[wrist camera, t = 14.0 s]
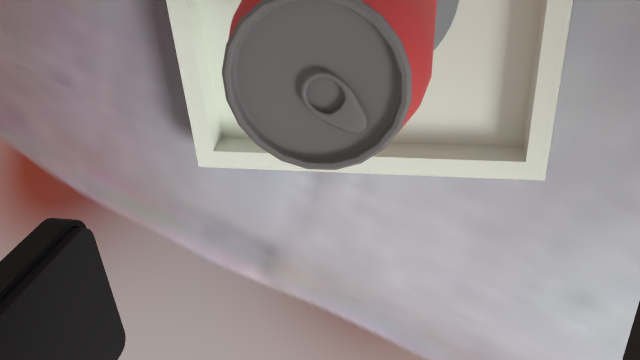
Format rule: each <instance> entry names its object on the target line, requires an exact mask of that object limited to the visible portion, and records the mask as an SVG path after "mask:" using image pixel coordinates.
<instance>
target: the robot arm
mask: <svg viewBox="0 0 640 360" xmlns="http://www.w3.org/2000/svg"><path fill="white" fill-rule="evenodd" d="M124 346H125V332H124V329H123V325H122V322H121V319H120V316H119V313H118V310H117V307H116V303H115V300H114V297H113V294H112V291H111V288H110V285H109V281H108V278H107V275H106V272H105V269H104V266H103V263H102V260H101V257H100V253H99V250H98V247H97V244H96V241H95V238H94V235H93V233H92V232H91V230H90V229H87V228H86V226H85V224H84V223H83V222H82V221H79V220H72V219H59V218H49V219H46V220H45V221H43V222H42V223H41V224H40V225H39V226H38V227H36V228H35V229H34V230H33V231H32V232H31V233H30V234H29V235H28V236H27V237H26V238H25V239H24V240H23V241H22V242H20V243H19V244H18V245H17V246H16V247H15V248H14V249H13V250H12V251H11V252H10V253H9V254H8V255H7V256H6V257H5V258H4V259H3V260H2V261H0V360H118V358H119V356H120V355H121V353H122V351H123V348H124ZM623 360H640V302H639V305H638V309H637V312H636V315H635V319H634V322H633V326H632V329H631V333H630V336H629V339H628V343H627V346H626V350H625V353H624V356H623Z"/></svg>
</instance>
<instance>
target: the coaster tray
mask: <svg viewBox="0 0 640 360" xmlns="http://www.w3.org/2000/svg"><path fill="white" fill-rule="evenodd" d="M241 1H242V0H166V3H167V8H168V13H169V18H170V23H171V28H172V33H173V38H174V43H175V48H176V53H177V58H178V64H179V69H180V74H181V79H182V84H183V89H184V94H185V99H186V104H187V109H188V114H189V119H190V124H191V129H192V134H193V139H194V144H195V150H196V155H197V160H198V165H199V167H216V168H242V169H267V170H292V171H317V172H342V173H367V174H393V175H418V176H443V177H468V178H493V179H518V180H543V181H545V177H546V171H547V164H548V158H549V151H550V145H551V139H552V132H553V126H554V119H555V113H556V106H557V100H558V94H559V87H560V81H561V74H562V68H563V61H564V55H565V49H566V42H567V36H568V29H569V23H570V16H571V10H572V4H573V0H437V9H436V22H435V36H434V49H433V62H432V75H431V79H430V82H429V84H428V87H427V89H426V92H425V95H424V97H423V100H422V103H421V105H420V107H419V108H418V109H417V111H416V112H415V113H414V114H413V116H412V117H411V118H410V119H409V120H408V122H407V123H406V124H405V125H404V127H403V128H402V129H401V130H400V131H399V133H398V134H397V135H396V136H395V137H394V138H393V139H392V140H391V142H390V143H389V144H388V145H387V146H386V148H385V149H384V150H382V151H380V152H379V153H377V154H376V155H374V156H372V157H371V158H369V159H368V160H366V161H364V162H363V163H361V164H357V165H353V166H349V167H345V168H341V169H337V170H318V169H306V168H302V167H299V166H296V165H293V164H290V163H287V162H283V161H281V160H279V159H277V158H276V157H274V156H273V155H271V154H270V153H268V152H267V151H265V150H263V149H262V148H260V147H259V146H257V145H256V144H255V142H254V141H253V140H252V139H251V138H250V137H249V136H248V135H247V134H246V132H245V131H244V130H243V129H242V128H241V127H240V126H239V125H238V123H237V121H236V119H235V117H234V115H233V113H232V111H231V108H230V106H229V104H228V102H227V100H226V96H225V90H224V83H223V77H222V67H223V60H224V54H225V48H226V44H227V42H228V39H229V32H230V26H231V22H232V19H233V16H234V14H235V12H236V10H237V8H238V6H239V4H240V3H241Z"/></svg>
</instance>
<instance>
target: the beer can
mask: <svg viewBox="0 0 640 360" xmlns="http://www.w3.org/2000/svg"><path fill="white" fill-rule="evenodd" d="M436 9H437V0H242V1H241V3H240V4H239V6H238V8H237V10H236V12H235V14H234V16H233V19H232V22H231V26H230V32H229V39H228V42H227V44H226V48H225V54H224V60H223V67H222V77H223V83H224V90H225V96H226V100H227V102H228V104H229V106H230V108H231V111H232V113H233V115H234V117H235V119H236V121H237V123H238V125H239V126H240V127H241V128H242V129H243V130H244V131H245V132H246V134H247V135H248V136H249V137H250V138H251V139H252V140H253V141H254V142H255V144H256V145H257V146H259V147H260V148H262V149H263V150H265V151H267V152H268V153H270V154H271V155H273V156H274V157H276V158H277V159H279V160H281V161H283V162H287V163H290V164H293V165H296V166H299V167H302V168H306V169H318V170H337V169H341V168H345V167H349V166H353V165H357V164H361V163H363V162H364V161H366V160H368V159H369V158H371V157H372V156H374V155H376V154H377V153H379V152H380V151H382V150H384V149H385V148H386V146H387V145H388V144H389V143H390V142H391V140H392V139H393V138H394V137H395V136H396V135H397V134H398V133H399V131H400V130H401V129H402V128H403V127H404V125H405V124H406V123H407V122H408V120H409V119H410V118H411V117H412V116H413V114H414V113H415V112H416V111H417V109H418V108H419V107H420V105H421V103H422V100H423V97H424V95H425V92H426V89H427V87H428V84H429V82H430V79H431V75H432V62H433V49H434V36H435V22H436Z"/></svg>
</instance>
